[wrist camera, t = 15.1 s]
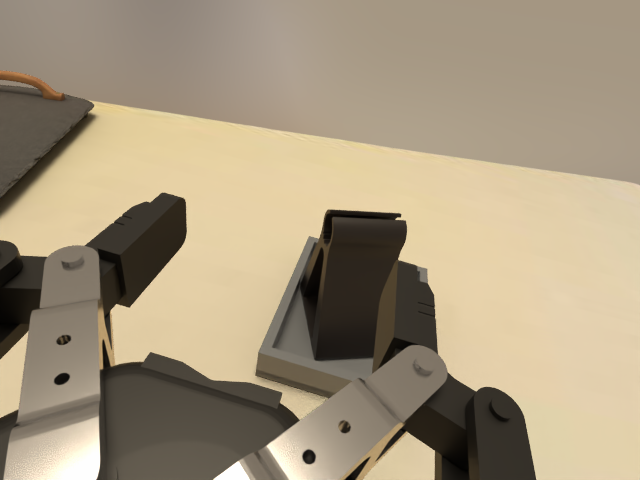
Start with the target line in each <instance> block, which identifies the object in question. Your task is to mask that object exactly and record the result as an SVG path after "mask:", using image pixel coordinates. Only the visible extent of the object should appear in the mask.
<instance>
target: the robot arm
mask: <svg viewBox="0 0 640 480" xmlns="http://www.w3.org/2000/svg"><path fill="white" fill-rule="evenodd" d="M186 233H187V228H186V202H185V199H184V198H181V197H178V196H174V195H171V194H167V193H161V194H160V195H159V196H158V197H156V198H155V199H154V200H153V201H152V202H151V203H149V202H143V203H141V204H138V205H136V206H133V207H131V208H130V209H129V210H128V211H127V212H125V213H124V214H123V215H122V217H119V218H118V219H117V220H116V221H114V223H112V224H111V225H109V226H108V227H107V228H106V229H105V230H103V231H102V232H101V233H100V234H98V235H97V236H96V237H95V238H94V239H92V240H91V241H90V242H89V243H87V244H86V245H85V246H78V245H77V246H68V247H64V248H61V249H59V250H57V251H55V252H53V253H52V254H50V255H49V256H48V257H37V256H20V254H19V251H18V248H17V247H16V246H15V245H14V244H13V243H11V242H8V241H1V240H0V359H1V358H2V357H3V356H4V355H5V354H6V353H7V352H8V351H9V350H10V349H11V348H12V347H13V346H14V345H15V344H16V343H17V342H18V341H19V340H20V339H21V338H22V337H23V336H24V335H25V334H26V333H27V332H28V331H29V333H28V341H27V348H26V356H25V364H24V372H23V380H22V387H21V395H20V403H19V409H18V410H16V411H14V412H12V413H10V414H8V415H6V416H4V417H1V418H0V480H362V479H363V478H364V477H365V476H366V475H367V473H368V472H369V471H370V470H371V469H372V468H373V467H374V466H375V465H376V464H377V463H378V462H379V461H380V460H381V459H382V458H383V457H384V456H385V455H386V454H387V453H388V452H389V451H390V450H391V449H392V448H393V447H394V446H395V445H396V444H397V443H398V442H399V441H400V440H401V439H402V438H403V437H404V436H405V435H406V434H407V433H410V434H411V435H413V436H414V437H416V438H417V439H419V440H420V441H422V442H423V443H425V444H426V445H427V446H429V447H430V448H432V449H433V450H435V480H536V475H535V470H534V465H533V460H532V455H531V449H530V444H529V439H528V434H527V429H526V423H525V419H524V415H523V413H522V411H521V409H520V407H519V406H518V405H517V403H516V402H515V401H514V400H513V399H512V398H511V397H510V396H508V395H507V394H506V393H504V392H502V391H501V390H498V389H496V388H492V387H483V388H480V389H479V390H478V391H477V392H476V391H474V390H472V389H471V388H469V387H467V386H466V385H464V384H462V383H461V382H459V381H457V380H456V379H454V378H453V377H452V376H451V375H450V374H449V373H448V372H447V368H446V365H445V363H444V361H443V360H442V359H441V357H440V356H439V355H438V350H437V334H436V319H435V309H434V307H435V303H434V294H433V292H432V291H431V289H430V287H429V285H428V283H425V282H421V281H418V278H417V266H416V265H413V264H410V263H406V262H403V261H399V260H396V261H395V263H394V265H393V268H392V270H391V272H390V275H389V277H388V279H387V282H386V284H385V286H384V289H383V292H382V295H381V298H380V303H379V310H378V320H377V329H376V339H375V348H374V358H373V368H372V374H371V375H370V376H369V377H367V378H366V379H364V380H362V379H361V378H357V379H355V380H353V381H352V382H351V383H349V384H348V385H347V386H345V387H344V388H343V389H341V390H340V391H339V392H337V393H336V394H335V395H333V396H332V397H331V398H329V399H328V400H327V401H325V402H324V403H323V404H321V405H320V406H319V407H317V408H316V409H315V410H313V411H312V412H311V413H309V414H308V415H307V416H305V417H304V418H303V419H301V420H299V419H298V418H297V417H296V416H295V415H294V413H293V412H291V411H290V410H289V409H288V408H287V407H285V406H284V405H282V404H281V403H280V400H281V396H282V393H281V392H278V391H275V390H272V389H268V388H265V387H262V386H259V385H255V384H252V383H247V382H229V381H214V380H210V379H208V378H207V377H205V376H204V375H202V374H201V373H199V372H197V371H196V370H194V369H193V368H191V367H190V366H188V365H186V364H185V363H183V362H181V361H178V360H174V359H171V358H168V357H165V356H161V355H158V354H155V353H152V352H150V353H149V355H148V356H147V358H146V359H145V361H144V362H130V363H124V364H119V365H115V359H114V344H113V329H112V314H111V309H112V308H113V307H114V306H115V305H116V304H119V305H122V306H126V307H130V306H131V305H132V304H133V303H134V302H135V300H136V299H137V298H138V297H139V296H140V295H141V293H142V292H143V291H144V290H145V289H146V288H147V286H148V285H149V284H150V283H151V282H152V281H153V279H154V278H155V277H156V276H157V275H158V274H159V272H160V271H161V270H162V269H163V268H164V267H165V265H166V264H167V263H168V262H169V261H170V260H171V258H172V257H173V256H174V255H175V254H176V253H177V251H178V250H179V249H180V248H181V247H182V245H183V243H184V241H185V238H186Z"/></svg>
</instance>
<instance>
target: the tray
mask: <svg viewBox="0 0 640 480" xmlns="http://www.w3.org/2000/svg"><path fill="white" fill-rule="evenodd" d="M318 240H319V239H317V238H314V237H310V236H309V238H308V240H307V242H306V245H305V247H304V249H303V251H302V254H301V256H300V258H299V261H298V263H297V265H296V268H295V270H294V272H293V274H292V277H291V279H290V281H289V284H288V286H287V288H286V290H285V293H284V295H283V297H282V300H281V302H280V304H279V307H278V309H277V311H276V313H275V316H274V318H273V320H272V323H271V325H270V327H269V330H268V332H267V334H266V336H265V339H264V341H263V343H262V346H261V348H260V350H259V352H258V360H257V367H256V376H260V377H263V378H266V379H269V380H273V381H276V382H279V383H282V384H286V385H289V386H292V387H295V388H299V389H302V390H305V391H308V392H312V393H315V394H318V395H321V396H324V397H328V398H331V397H332V396H333V395H335V394H336V393H337V392H339V391H340V390H341V389H343V388H344V387H345V386H347V385H348V384H349V383H351V382H352V381H353V380H355V379H357V378H361V379H362V380H364V379H366V378H367V377H369V376H370V375H371V374H372V368H373V358H374V357H354V358H334V359H314V356H313V351H312V346H311V341H310V336H309V331H308V326H307V319H306V316H305V311H304V306H303V301H302V296H301V291H300V283H301V281H302V278H303V276H304V274H305V271H306V269H307V267H308V264H309V262H310V259H311V257H312V255H313V252H314V250H315V247H316V245H317V243H318ZM417 278H418V281H421V282H425V283H428V279H427V269H425V268H422V267H418V266H417Z"/></svg>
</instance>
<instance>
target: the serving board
mask: <svg viewBox="0 0 640 480" xmlns="http://www.w3.org/2000/svg"><path fill="white" fill-rule="evenodd" d="M0 80H9V81H16V82H21V83H26V84H29V85H32V86H34V87H36V88H38V89H34V88H26V87H18V86H6V85H0V198H1V197H2V196H3V195H4V194H5V193H6V192H7V191H8V190H9V189H10V188H11V187H12V186H13V185H14V184H15V183H17V182H18V181H19V180H20V179H21V178H22V177H23V176H24V175H25V174H26V173H27V172H28V171H29V170H30V168H32V167H34V166H35V164H36V163H37V162H38V161H39V159H41V158H42V157H43V156H44V155H45V154H46V153H48V152H49V151H50V149H51V148H52V147H53V146H54V145H55V144H57V143H58V142H59V140H60V139H62V138H63V137H64V136H65V135H66V134H67V133H68V132H69V131H70V130H71V129H72V128H73V127H74V126H75V125H76V124H77V123H78V122H79V121H80V120H81V119H82V118H86V117H87V116H88V112H89V111H90V110H92V108H93V107H94V104H93V103H92V102H89V101H87V100H85V99H81V98H77V97H72V96H69V95H65V94H64V93H59V92H56V91H54V90H53V89H52V88H51V87H49V86H48V85H47V84H46V83H45V82H43V81H42V80H40V79H38V78H36V77H33V76H30V75H26V74H22V73H17V72H10V71H0Z"/></svg>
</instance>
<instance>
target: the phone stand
mask: <svg viewBox="0 0 640 480" xmlns="http://www.w3.org/2000/svg"><path fill="white" fill-rule="evenodd" d="M397 217H401V214H400V213H382V212H364V211H346V210H327V212H326V214H325V217H324V222H323V227H322V232H321V235H320V238H319V240H318V243H317V245H316V247H315V250H314V252H313V255H312V257H311V259H310V262H309V264H308V267H307V269H306V271H305V274H304V276H303V278H302V281H301V283H300V291H301V296H302V301H303V306H304V311H305V316H306V319H307V326H308V331H309V336H310V341H311V346H312V351H313V356H314V359H334V358H354V357H374V348H375V339H376V329H377V320H378V310H379V303H380V298H381V295H382V292H383V289H384V286H385V284H386V282H387V279H388V277H389V275H390V272H391V270H392V268H393V265H394V263H395V261H396V260H398V257H399V254H400V251H401V249H402V247H403V246H404V243H405V240H406V235H407V225H406V221H404V220H395V219H396V218H397Z"/></svg>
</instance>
